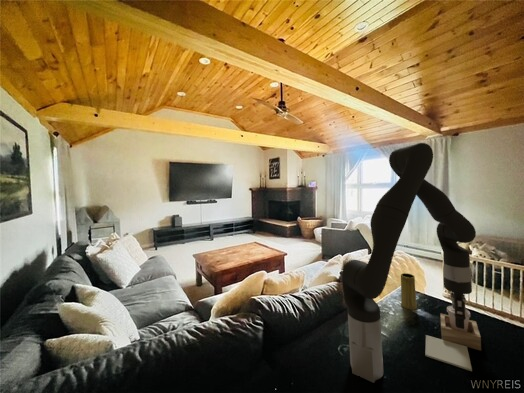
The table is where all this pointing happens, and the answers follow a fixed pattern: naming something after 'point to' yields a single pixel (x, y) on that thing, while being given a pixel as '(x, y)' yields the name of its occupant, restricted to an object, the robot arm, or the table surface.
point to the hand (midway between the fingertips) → (458, 321)
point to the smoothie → (452, 318)
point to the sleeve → (461, 333)
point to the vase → (408, 291)
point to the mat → (448, 352)
